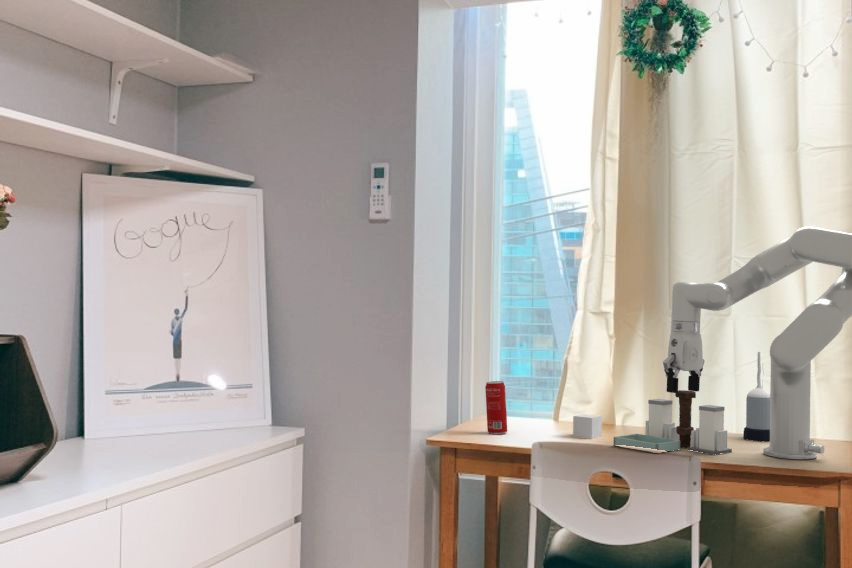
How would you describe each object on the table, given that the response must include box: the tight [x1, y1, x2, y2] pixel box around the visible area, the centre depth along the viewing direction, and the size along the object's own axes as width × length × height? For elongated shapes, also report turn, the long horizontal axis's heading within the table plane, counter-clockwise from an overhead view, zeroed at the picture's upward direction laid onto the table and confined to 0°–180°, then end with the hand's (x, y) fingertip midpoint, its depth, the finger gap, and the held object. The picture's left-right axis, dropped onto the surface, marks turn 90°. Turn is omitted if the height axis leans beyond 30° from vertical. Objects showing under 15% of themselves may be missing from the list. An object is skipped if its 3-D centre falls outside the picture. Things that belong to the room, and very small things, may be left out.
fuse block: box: [644, 398, 733, 456], centre depth 234 cm, size 23×8×12 cm, turn 39°
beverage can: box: [484, 380, 508, 435], centre depth 254 cm, size 6×6×15 cm
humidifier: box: [742, 351, 770, 443], centre depth 250 cm, size 8×8×25 cm
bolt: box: [674, 389, 697, 448], centre depth 234 cm, size 6×5×15 cm
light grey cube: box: [572, 413, 603, 440], centre depth 250 cm, size 6×6×6 cm
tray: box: [613, 433, 681, 452], centre depth 232 cm, size 14×10×2 cm
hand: (682, 391), depth 235 cm, fingers open, 9 cm apart
